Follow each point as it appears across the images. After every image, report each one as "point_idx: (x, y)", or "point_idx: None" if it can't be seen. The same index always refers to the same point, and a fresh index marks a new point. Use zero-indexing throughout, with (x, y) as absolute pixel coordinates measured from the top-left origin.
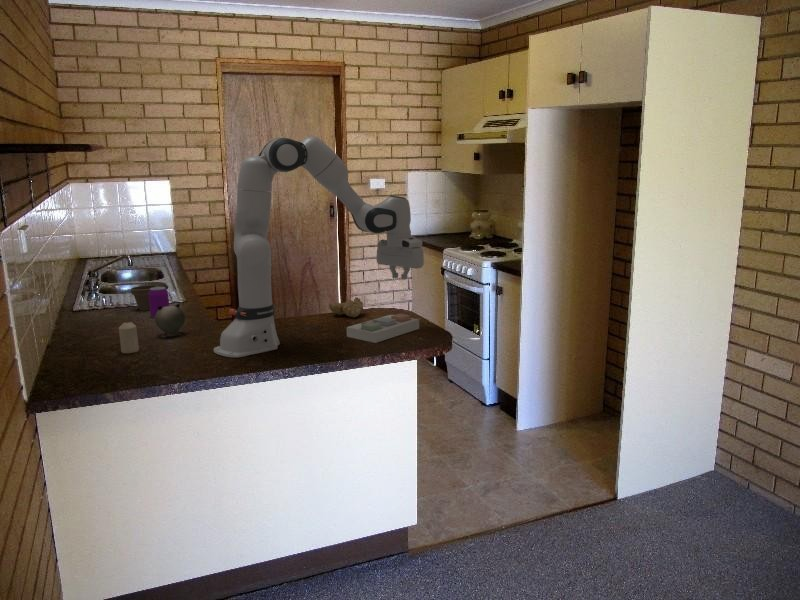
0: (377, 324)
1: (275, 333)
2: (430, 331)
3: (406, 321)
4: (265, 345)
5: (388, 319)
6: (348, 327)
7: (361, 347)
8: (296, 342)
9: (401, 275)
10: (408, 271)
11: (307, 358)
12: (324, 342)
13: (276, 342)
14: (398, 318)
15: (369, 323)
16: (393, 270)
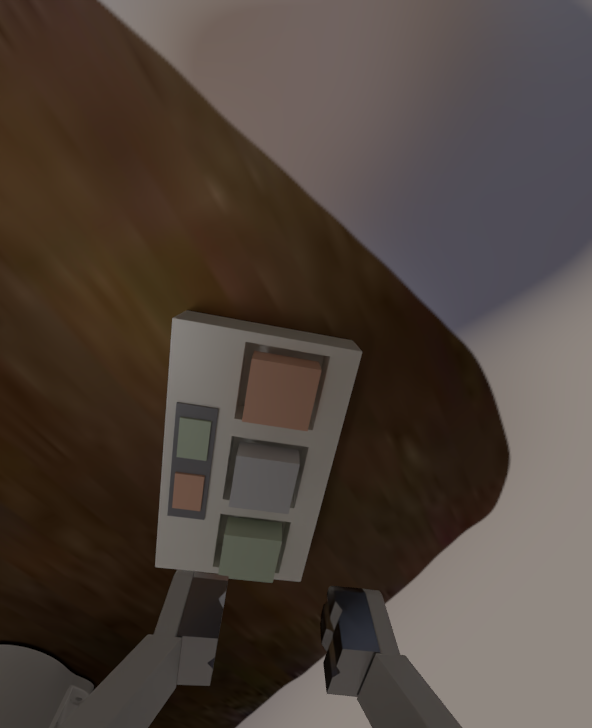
0: (272, 552)
1: (40, 722)
2: (414, 358)
3: (323, 407)
4: (63, 709)
5: (267, 477)
6: (164, 567)
7: (285, 593)
8: (80, 629)
9: (327, 672)
10: (445, 718)
11: (220, 692)
12: (153, 600)
13: (66, 690)
14: (287, 425)
15: (234, 553)
16: (138, 720)
